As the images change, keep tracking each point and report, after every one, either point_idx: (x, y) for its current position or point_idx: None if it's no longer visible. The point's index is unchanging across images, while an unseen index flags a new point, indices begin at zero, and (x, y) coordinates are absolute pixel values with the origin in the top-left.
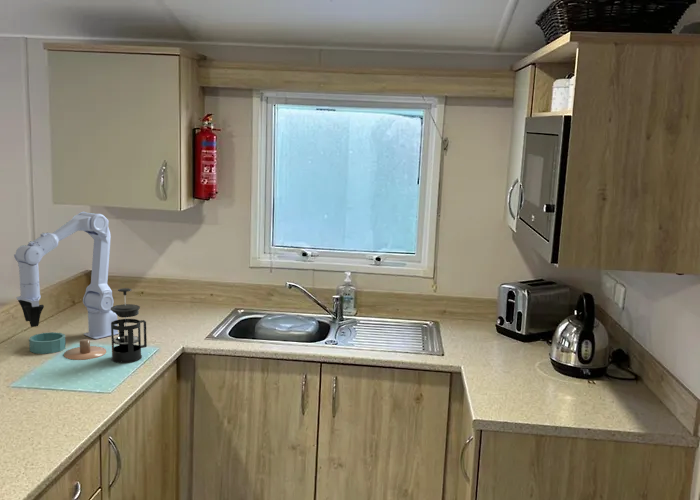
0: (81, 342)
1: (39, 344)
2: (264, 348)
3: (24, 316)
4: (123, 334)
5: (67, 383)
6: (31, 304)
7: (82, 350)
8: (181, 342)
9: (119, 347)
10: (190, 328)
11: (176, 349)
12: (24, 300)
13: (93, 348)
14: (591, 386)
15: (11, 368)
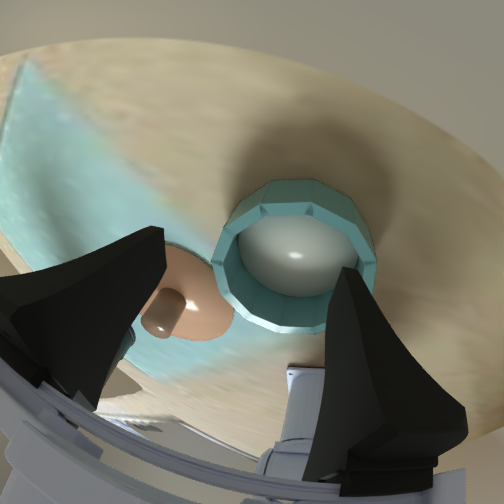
0: (146, 313)
1: (237, 215)
2: (115, 404)
3: (361, 289)
4: (109, 372)
5: (11, 173)
6: (3, 358)
7: (156, 295)
8: (170, 402)
9: (121, 342)
10: (240, 437)
11: (136, 380)
12: (11, 404)
13: (196, 326)
14: None
15: (129, 57)
